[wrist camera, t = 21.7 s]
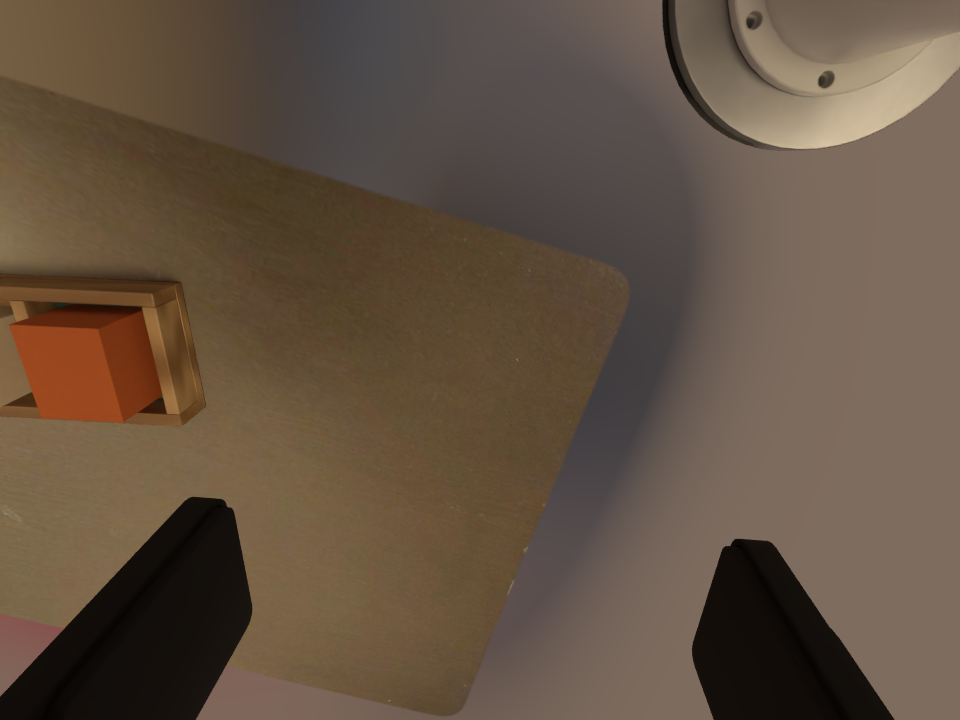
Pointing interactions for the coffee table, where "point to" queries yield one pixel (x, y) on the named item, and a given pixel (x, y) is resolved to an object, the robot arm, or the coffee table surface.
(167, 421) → the holder
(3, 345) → the beige block
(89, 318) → the orange block
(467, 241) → the coffee table surface
